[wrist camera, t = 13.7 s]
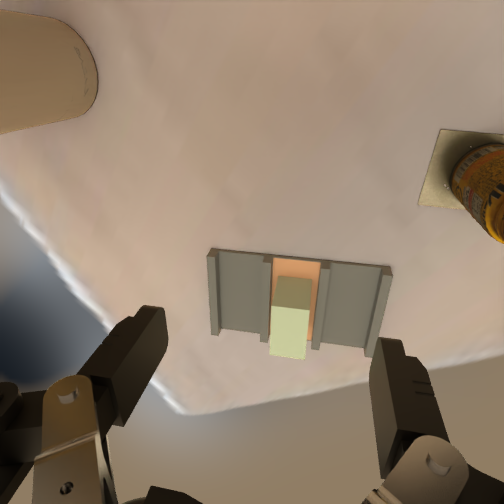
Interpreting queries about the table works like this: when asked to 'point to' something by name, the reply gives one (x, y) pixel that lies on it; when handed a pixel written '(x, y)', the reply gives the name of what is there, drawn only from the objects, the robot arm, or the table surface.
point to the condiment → (468, 177)
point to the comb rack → (322, 296)
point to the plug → (290, 317)
